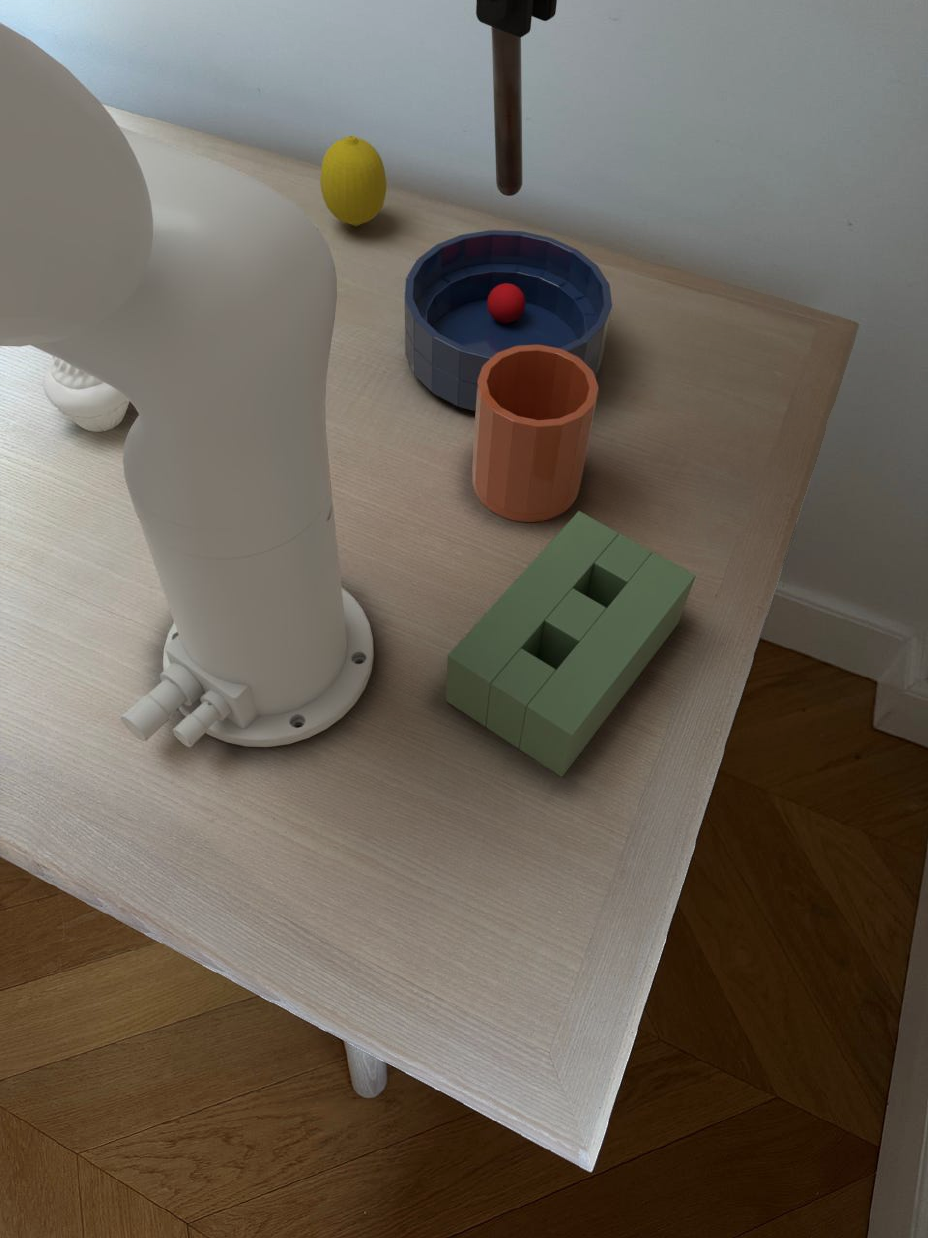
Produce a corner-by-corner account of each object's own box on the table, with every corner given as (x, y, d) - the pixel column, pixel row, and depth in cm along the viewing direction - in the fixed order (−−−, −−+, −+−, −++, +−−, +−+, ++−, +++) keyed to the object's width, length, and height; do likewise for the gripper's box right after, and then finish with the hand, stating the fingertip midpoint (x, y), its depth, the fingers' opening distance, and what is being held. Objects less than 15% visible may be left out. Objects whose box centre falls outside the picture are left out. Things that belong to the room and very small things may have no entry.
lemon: (391, 209, 90) (389, 121, 83) (382, 246, 87) (379, 158, 80) (330, 204, 90) (323, 116, 83) (318, 240, 87) (310, 152, 80)
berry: (509, 336, 79) (512, 304, 77) (478, 320, 80) (480, 288, 78) (531, 317, 81) (534, 285, 78) (500, 302, 82) (503, 270, 79)
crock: (540, 539, 68) (555, 443, 61) (450, 488, 71) (454, 390, 63) (599, 475, 72) (620, 377, 65) (512, 428, 74) (522, 329, 67)
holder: (678, 622, 65) (696, 575, 60) (561, 777, 58) (572, 735, 54) (569, 559, 67) (578, 510, 63) (445, 701, 61) (447, 655, 56)
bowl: (528, 453, 73) (536, 390, 68) (366, 365, 78) (362, 300, 73) (635, 345, 80) (649, 281, 75) (481, 271, 85) (484, 206, 80)
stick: (512, 203, 61) (507, -99, 49) (491, 196, 62) (480, -104, 50) (527, 191, 62) (525, -109, 50) (506, 184, 63) (499, -113, 51)
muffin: (48, 403, 74) (17, 325, 68) (129, 378, 76) (106, 301, 70) (71, 458, 71) (41, 381, 65) (155, 431, 73) (133, 354, 67)
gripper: (513, -439, 34) (485, 102, 49) (732, -494, 41) (650, -10, 57) (344, -474, 36) (367, 52, 52) (580, -520, 44) (540, -49, 59)
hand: (515, 17), depth 54 cm, fingers closed on stick
